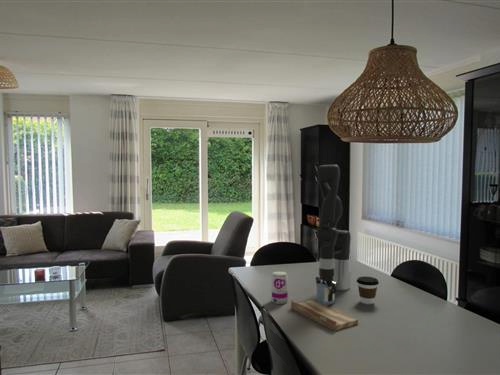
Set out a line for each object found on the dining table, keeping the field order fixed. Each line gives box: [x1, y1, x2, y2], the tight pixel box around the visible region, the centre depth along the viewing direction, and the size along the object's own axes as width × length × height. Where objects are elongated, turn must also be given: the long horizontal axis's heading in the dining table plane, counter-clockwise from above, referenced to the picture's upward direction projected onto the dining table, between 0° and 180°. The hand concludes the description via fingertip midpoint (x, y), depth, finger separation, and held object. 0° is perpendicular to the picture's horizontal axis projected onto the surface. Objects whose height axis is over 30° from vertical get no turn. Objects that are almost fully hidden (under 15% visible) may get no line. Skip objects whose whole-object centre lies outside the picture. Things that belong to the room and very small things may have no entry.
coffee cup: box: [356, 276, 380, 305], centre depth 202 cm, size 11×11×12 cm
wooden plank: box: [290, 299, 359, 332], centre depth 184 cm, size 14×30×4 cm, turn 32°
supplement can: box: [271, 270, 289, 305], centre depth 202 cm, size 8×8×15 cm
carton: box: [316, 283, 336, 306], centre depth 200 cm, size 8×5×10 cm, turn 122°
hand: (326, 299), depth 201 cm, fingers closed on carton, 5 cm apart
